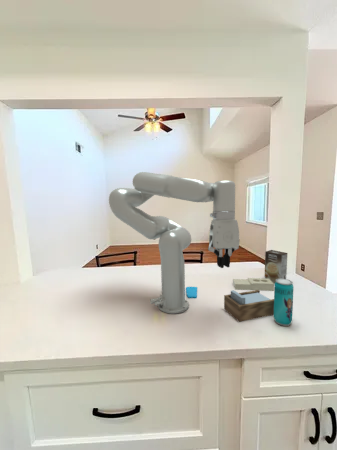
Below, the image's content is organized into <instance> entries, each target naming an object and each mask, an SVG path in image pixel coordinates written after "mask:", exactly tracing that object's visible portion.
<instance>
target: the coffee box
mask: <svg viewBox="0 0 337 450" xmlns="http://www.w3.org/2000/svg"><path fill="white" fill-rule="evenodd" d="M264 254H265V255H264V277H263V278H267V279H270V280H271V281H272V282H273V283H274V284H275V282H276V279H287V274H288V273H287V272H288V252H283V251H278V250H274V249H270V250H266V251H265V253H264Z"/></svg>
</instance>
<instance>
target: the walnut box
mask: <svg viewBox="0 0 337 450" xmlns="http://www.w3.org/2000/svg"><path fill="white" fill-rule="evenodd" d="M260 291H261V290H248V291H243V292H238V293H239V294H240V295H246V294H252V293H260ZM260 294H261V293H260ZM223 296H224V297H223V299H224V300H223V304H224V305H223V310H225V311H226V312H227V313H229V314H230V315H231V316H232V317H233V318H234V319H235V320H236V321H237V322H238V323H239V322H240V323H241V322H245V321H251V320H255V319H256V320H257V319H260V318H265V317H270V316H274V298H272V299H271V298H270V299H271V300H266V301H260V302H254V303H249V304H243V305H240V304H238V303H237V302H235V301H234V300H233V299H231V293H230V294H224V295H223Z"/></svg>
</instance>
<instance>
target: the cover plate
mask: <svg viewBox="0 0 337 450" xmlns="http://www.w3.org/2000/svg"><path fill="white" fill-rule="evenodd" d="M239 293H240V292H237V291H236V290H235V289H234V290H233V289H232V290H230V294H231V299H233V300H234V301H235V302H237V303H238V304H240V305H243V304H249V303H254V302H260V301H266V300H271V298H268V297H267V296H265V295H264V294H261V293H252V294H246V295H240V294H239Z"/></svg>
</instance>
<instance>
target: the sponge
mask: <svg viewBox="0 0 337 450" xmlns="http://www.w3.org/2000/svg"><path fill="white" fill-rule="evenodd" d="M185 296H186V298H187V299H197V298H198V287H197V286H186V287H185Z"/></svg>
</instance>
